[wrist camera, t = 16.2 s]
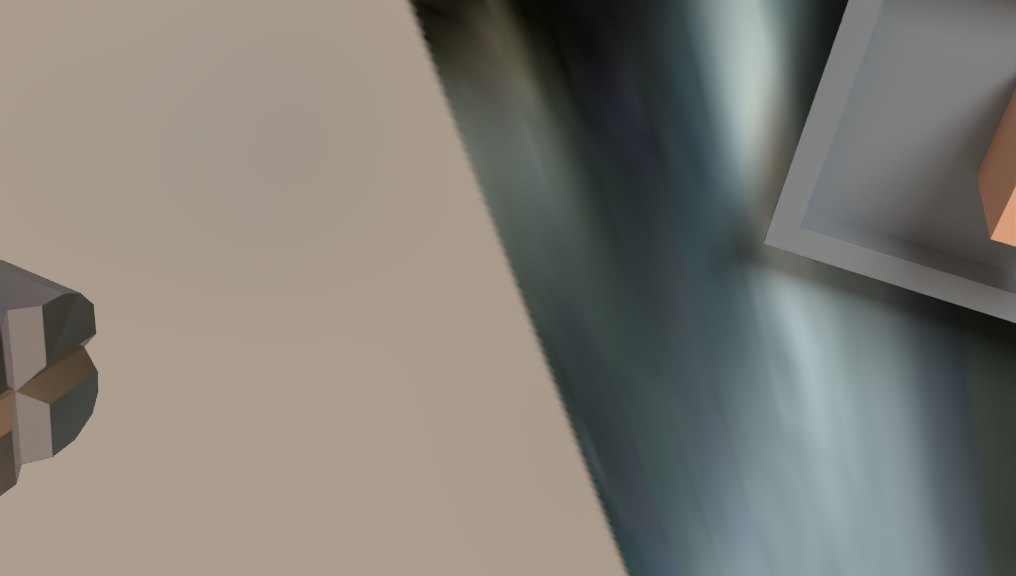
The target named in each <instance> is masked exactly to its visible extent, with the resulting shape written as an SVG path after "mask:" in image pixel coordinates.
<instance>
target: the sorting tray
mask: <svg viewBox="0 0 1016 576" xmlns="http://www.w3.org/2000/svg"><path fill="white" fill-rule="evenodd" d="M1015 88H1016V0H848V2H847V5H846V8H845V11H844V14H843V17H842V19H841V22H840V25H839V28H838V31H837V34H836V36H835V39H834V42H833V45H832V48H831V51H830V54H829V56H828V59H827V62H826V65H825V68H824V71H823V74H822V76H821V79H820V82H819V85H818V88H817V91H816V93H815V96H814V99H813V102H812V105H811V108H810V111H809V113H808V116H807V119H806V122H805V125H804V128H803V131H802V133H801V136H800V139H799V142H798V145H797V148H796V150H795V153H794V156H793V159H792V162H791V165H790V168H789V170H788V173H787V176H786V179H785V182H784V185H783V188H782V190H781V193H780V196H779V199H778V202H777V205H776V207H775V210H774V213H773V216H772V219H771V222H770V225H769V228H768V231H767V234H766V237H765V240H764V244H766V245H769V246H772V247H775V248H779V249H782V250H785V251H788V252H791V253H795V254H798V255H801V256H804V257H807V258H810V259H814V260H817V261H820V262H823V263H826V264H830V265H833V266H836V267H839V268H842V269H845V270H849V271H852V272H855V273H858V274H861V275H865V276H868V277H871V278H874V279H877V280H881V281H884V282H887V283H890V284H893V285H896V286H900V287H903V288H906V289H909V290H912V291H916V292H919V293H922V294H925V295H928V296H931V297H935V298H938V299H941V300H944V301H947V302H951V303H954V304H957V305H960V306H963V307H966V308H970V309H973V310H976V311H979V312H982V313H986V314H989V315H992V316H995V317H998V318H1001V319H1005V320H1008V321H1011V322H1014V323H1016V246H1012V245H1009V244H1006V243H1002V242H999V241H995V240H992V239H990V235H989V230H988V226H987V221H986V216H985V212H984V207H983V203H982V198H981V194H980V189H979V184H978V180H977V172H978V170H979V168H980V166H981V164H982V161H983V159H984V157H985V155H986V153H987V150H988V148H989V146H990V144H991V142H992V139H993V137H994V135H995V133H996V130H997V128H998V126H999V124H1000V122H1001V119H1002V117H1003V115H1004V113H1005V111H1006V108H1007V106H1008V104H1009V102H1010V99H1011V97H1012V95H1013V93H1014V91H1015Z"/></svg>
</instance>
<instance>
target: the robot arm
mask: <svg viewBox="0 0 1016 576" xmlns="http://www.w3.org/2000/svg"><path fill="white" fill-rule="evenodd" d="M95 334H96V327H95V316H94V305H93V304H92V303H91V302H90V301H89V300H88V299H87V298H85V297H84V296H83V295H82V294H81V293H79V292H76V291H74V290H72V289H69V288H67V287H65V286H62V285H60V284H58V283H55V282H53V281H50V280H48V279H46V278H43V277H41V276H38V275H36V274H34V273H31V272H29V271H27V270H24V269H22V268H19V267H17V266H15V265H13V264H10V263H7V262H5V261H3V260H0V496H1V495H2V494H3V493H5V492H6V491H8V490H9V489H10V488H12V487H13V486H14V485H16V484H17V480H18V476H19V472H20V469H21V465H22V464H26V463H30V462H33V461H38V460H42V459H46V458H50V457H53V456H54V455H56V454H57V453H58V452H59V451H61V450H62V449H63V448H65V447H66V446H67V445H68V444H70V443H71V442H72V441H74V440H75V439H76V437H77V436H78V434H79V433H80V431H81V430H82V428H83V427H84V425H85V424H86V422H87V421H88V419H89V418H90V416H91V415H92V413H93V409H94V405H95V402H96V398H97V394H98V371H97V369H96V367H95V366H94V364H93V362H92V360H91V358H90V357H89V355H88V353H87V351H86V349H85V348H84V346H85V345H86V344H87V343H88V342H89V341H90V340H91V339H92V338H93V337H94V335H95Z"/></svg>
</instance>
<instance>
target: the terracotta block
mask: <svg viewBox="0 0 1016 576" xmlns="http://www.w3.org/2000/svg"><path fill="white" fill-rule="evenodd" d="M977 180H978V184H979V189H980V194H981V198H982V203H983V207H984V212H985V216H986V221H987V226H988V230H989V235H990V239H992V240H995V241H999V242H1002V243H1006V244H1009V245H1012V246H1016V88H1015V91H1014V93H1013V95H1012V97H1011V99H1010V102H1009V104H1008V106H1007V108H1006V111H1005V113H1004V115H1003V117H1002V119H1001V122H1000V124H999V126H998V128H997V130H996V133H995V135H994V137H993V139H992V142H991V144H990V146H989V148H988V150H987V153H986V155H985V157H984V159H983V161H982V164H981V166H980V168H979V170H978V172H977Z"/></svg>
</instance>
